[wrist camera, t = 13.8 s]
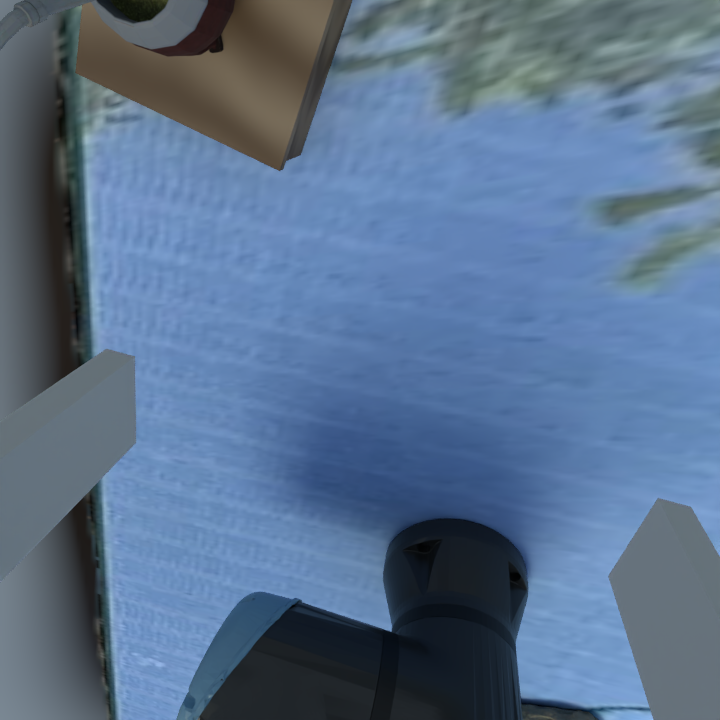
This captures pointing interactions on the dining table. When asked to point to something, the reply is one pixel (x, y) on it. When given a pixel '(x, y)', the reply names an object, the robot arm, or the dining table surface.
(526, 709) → the elongated rock
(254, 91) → the walnut box
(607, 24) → the dining table surface
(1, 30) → the mate gourd
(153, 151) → the dining table surface
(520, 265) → the dining table surface
